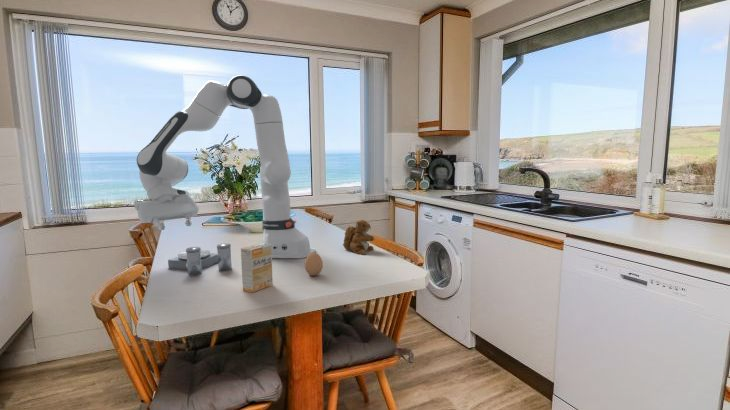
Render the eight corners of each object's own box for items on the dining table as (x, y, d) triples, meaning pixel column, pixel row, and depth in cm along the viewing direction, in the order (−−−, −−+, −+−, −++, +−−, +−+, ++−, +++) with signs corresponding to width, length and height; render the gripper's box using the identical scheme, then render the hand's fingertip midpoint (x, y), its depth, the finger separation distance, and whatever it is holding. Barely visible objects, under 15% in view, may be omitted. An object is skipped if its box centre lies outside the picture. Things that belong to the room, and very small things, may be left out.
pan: (216, 252, 146) (216, 250, 146) (196, 260, 136) (196, 257, 136) (192, 251, 150) (192, 248, 149) (171, 258, 139) (170, 256, 139)
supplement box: (253, 293, 113) (251, 249, 111) (242, 290, 115) (239, 247, 113) (273, 284, 120) (271, 244, 118) (262, 282, 122) (260, 242, 120)
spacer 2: (234, 267, 138) (233, 243, 137) (226, 271, 134) (225, 246, 133) (223, 267, 140) (222, 243, 138) (215, 270, 135) (213, 245, 134)
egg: (301, 275, 129) (301, 252, 128) (317, 271, 132) (316, 249, 131) (310, 279, 124) (309, 255, 123) (326, 275, 128) (325, 252, 127)
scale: (220, 261, 147) (219, 252, 147) (197, 270, 135) (196, 261, 135) (191, 259, 151) (191, 250, 150) (167, 268, 139) (166, 259, 138)
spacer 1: (205, 272, 134) (203, 247, 132) (196, 276, 129) (194, 250, 128) (194, 271, 135) (192, 246, 134) (184, 275, 130) (182, 249, 129)
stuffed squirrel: (365, 255, 153) (364, 223, 152) (336, 251, 161) (336, 220, 159) (377, 250, 162) (377, 219, 160) (349, 246, 169) (349, 216, 167)
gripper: (133, 195, 134) (147, 225, 129) (192, 190, 149) (205, 218, 144) (130, 206, 137) (143, 237, 132) (187, 201, 152) (200, 228, 147)
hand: (176, 227), depth 138 cm, fingers open, 8 cm apart
